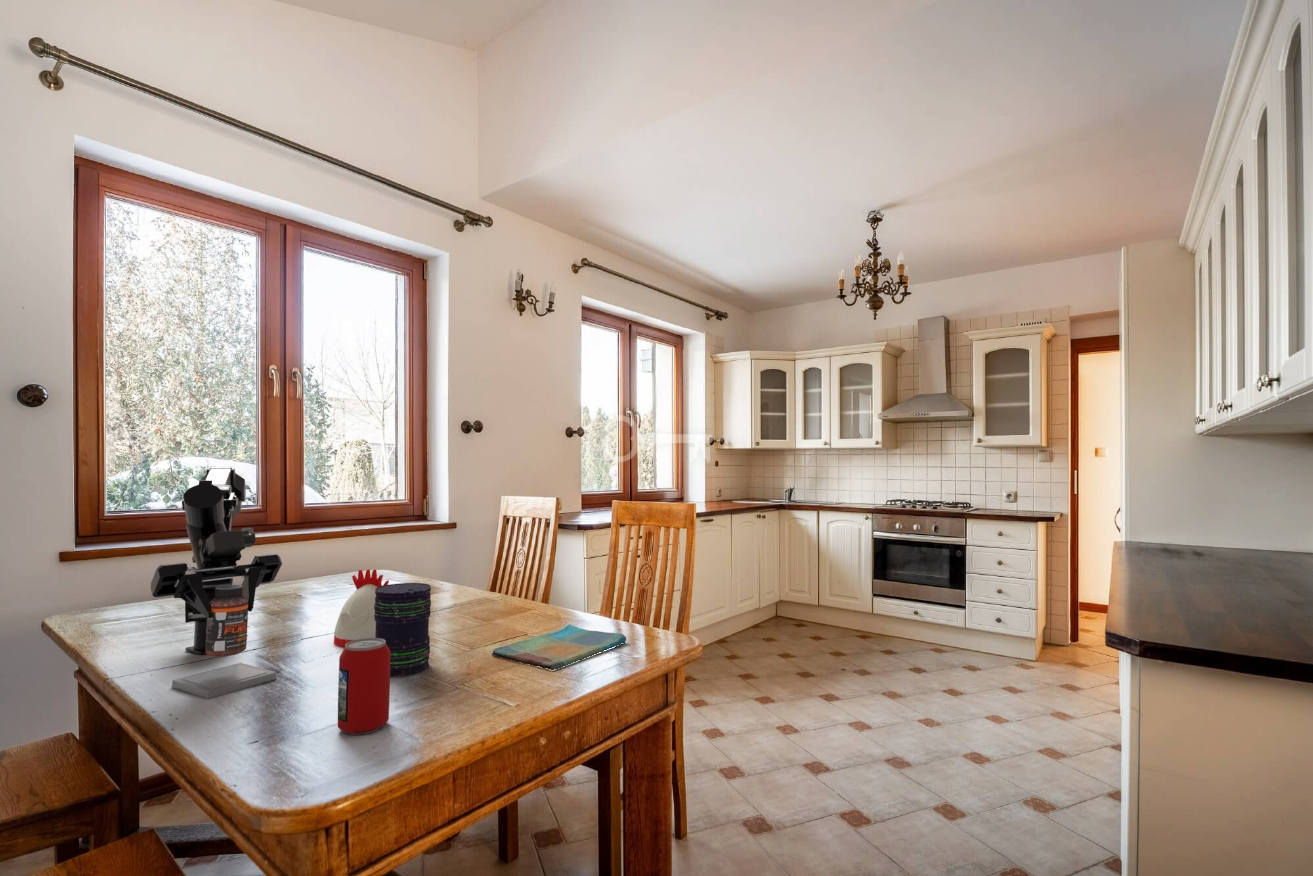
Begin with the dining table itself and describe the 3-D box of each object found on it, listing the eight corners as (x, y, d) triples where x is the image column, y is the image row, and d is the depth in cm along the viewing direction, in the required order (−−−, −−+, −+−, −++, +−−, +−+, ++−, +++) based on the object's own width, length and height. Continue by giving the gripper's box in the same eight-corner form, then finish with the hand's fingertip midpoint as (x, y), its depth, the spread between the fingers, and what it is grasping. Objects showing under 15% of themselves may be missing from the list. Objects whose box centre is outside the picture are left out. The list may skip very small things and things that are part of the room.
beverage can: (348, 719, 95) (350, 637, 96) (395, 717, 96) (397, 636, 96) (328, 738, 88) (331, 649, 89) (379, 736, 89) (381, 649, 90)
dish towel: (629, 645, 137) (629, 633, 137) (554, 675, 118) (554, 661, 118) (568, 634, 147) (568, 622, 147) (489, 659, 127) (489, 646, 127)
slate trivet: (171, 687, 108) (172, 679, 108) (240, 669, 118) (240, 662, 118) (208, 698, 103) (208, 690, 103) (276, 679, 113) (276, 671, 113)
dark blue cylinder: (363, 669, 118) (365, 587, 119) (414, 658, 126) (415, 580, 126) (387, 681, 112) (389, 595, 112) (439, 669, 119) (441, 587, 119)
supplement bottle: (225, 659, 107) (228, 590, 108) (196, 656, 108) (198, 589, 109) (255, 649, 113) (257, 584, 114) (226, 646, 114) (228, 582, 115)
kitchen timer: (359, 630, 147) (360, 564, 148) (415, 632, 145) (417, 565, 146) (319, 646, 133) (321, 573, 134) (381, 649, 131) (383, 575, 132)
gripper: (158, 516, 107) (177, 592, 100) (279, 510, 121) (303, 576, 114) (142, 559, 111) (159, 635, 104) (261, 548, 126) (283, 614, 119)
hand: (230, 613), depth 110 cm, fingers closed on supplement bottle, 6 cm apart
